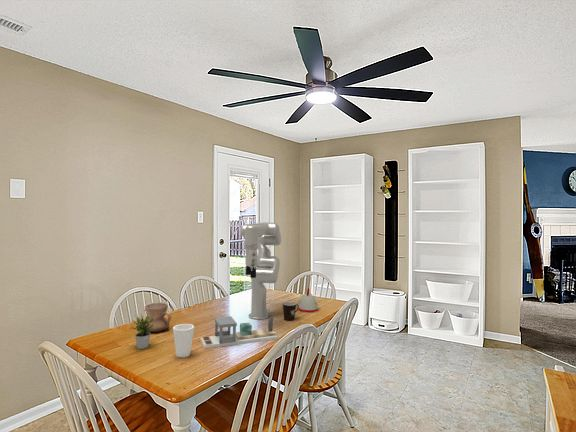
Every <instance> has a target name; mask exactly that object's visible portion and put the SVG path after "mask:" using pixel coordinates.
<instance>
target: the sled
mask: <svg viewBox="0 0 576 432" xmlns="http://www.w3.org/2000/svg"><path fill="white" fill-rule="evenodd" d="M267 319H268V320H267V322H268V325H267V326H268V328H262V329H252V328H253V327H252V324H251V323H250V322H242V323H241V322H240V323H239V331H236V337H237V338H238V339H246V338H254V337H262V336H270V335H277V331H275V330H274V327H273V326H274V323H273V322H274V321H273V320H274V318H273V317H267Z"/></svg>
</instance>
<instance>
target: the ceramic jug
mask: <svg viewBox="0 0 576 432" xmlns="http://www.w3.org/2000/svg"><path fill="white" fill-rule="evenodd" d="M168 306H169V304H168V303H167V302H163V301H162V302H161V301H160V302H149V303H147V304H145V305H144V308H143V312H145V313H146V315H147V314H148V315H150V316H149V320H148V322H149V321H150V320H151V319H153V318H154V317H155V318H156V320H155V318H154V320H153V321H152V323H150V324H151V325H152V324H153V325H154V326H153V327H154V328H155V329H153V328H149V330H148V331H147V332H150V333H157V332H162V331H164V330H166V329H167V330H168V328H169V327H170V322H171V320H172V314H171V312H169V311H167V310H168ZM166 315H167V317H168V318H166V317H165V316H166ZM156 316H158V317H156ZM154 323H155V324H154ZM147 324H148V323H147ZM147 324H146V325H147ZM151 325H149V326H151ZM149 326H148V327H149Z"/></svg>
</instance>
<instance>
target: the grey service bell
mask: <svg viewBox="0 0 576 432" xmlns="http://www.w3.org/2000/svg"><path fill="white" fill-rule="evenodd" d="M298 305H299V308H298V307H297V308H298V310H297V311H298V312H301V313H306V314H307V313H316V312H318V311H319V310H318V309H319V308H318V305H319V304H318V300H317V299H316V298H315V295H313V294H312V293H310V287H308V288H307V291H306V293H304V294H303V295H302V296H301V298H299V300H298Z"/></svg>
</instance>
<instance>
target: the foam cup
mask: <svg viewBox="0 0 576 432" xmlns="http://www.w3.org/2000/svg"><path fill="white" fill-rule="evenodd" d="M194 332H195V325H193V324H192V323H191V324H190V323H181V324H176V325H174V326H173V328H172V333H173V339H174V349H175V356H176V357H177V358H187V357H189V356H190V355H191V350H192V346H193V345H192V344H193V339H194Z"/></svg>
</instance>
